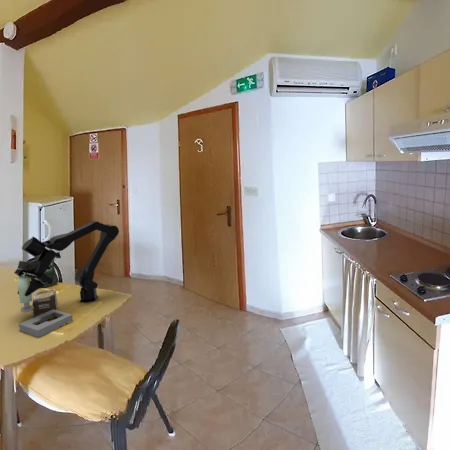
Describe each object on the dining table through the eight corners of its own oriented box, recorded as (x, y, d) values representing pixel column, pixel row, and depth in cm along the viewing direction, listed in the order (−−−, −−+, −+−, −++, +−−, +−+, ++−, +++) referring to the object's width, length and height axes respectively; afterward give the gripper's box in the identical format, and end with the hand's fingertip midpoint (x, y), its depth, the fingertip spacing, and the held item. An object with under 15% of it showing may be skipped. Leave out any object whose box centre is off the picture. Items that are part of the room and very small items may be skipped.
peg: (36, 307, 145) (32, 276, 142) (30, 312, 140) (26, 280, 137) (24, 307, 144) (20, 276, 142) (18, 312, 140) (13, 280, 137)
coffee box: (55, 287, 163) (56, 299, 149) (57, 300, 164) (57, 313, 150) (33, 291, 159) (32, 303, 145) (35, 304, 160) (34, 317, 146)
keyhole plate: (53, 315, 148) (53, 309, 147) (72, 321, 142) (72, 314, 142) (19, 330, 135) (18, 323, 134) (39, 337, 129) (38, 330, 129)
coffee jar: (54, 281, 191) (50, 249, 188) (59, 284, 186) (55, 251, 182) (35, 285, 184) (31, 252, 181) (40, 289, 179) (36, 255, 175)
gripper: (15, 250, 145) (-8, 283, 138) (43, 255, 137) (20, 290, 129) (35, 262, 154) (14, 294, 146) (63, 268, 145) (42, 302, 138)
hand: (22, 295), depth 140 cm, fingers closed on peg, 4 cm apart
